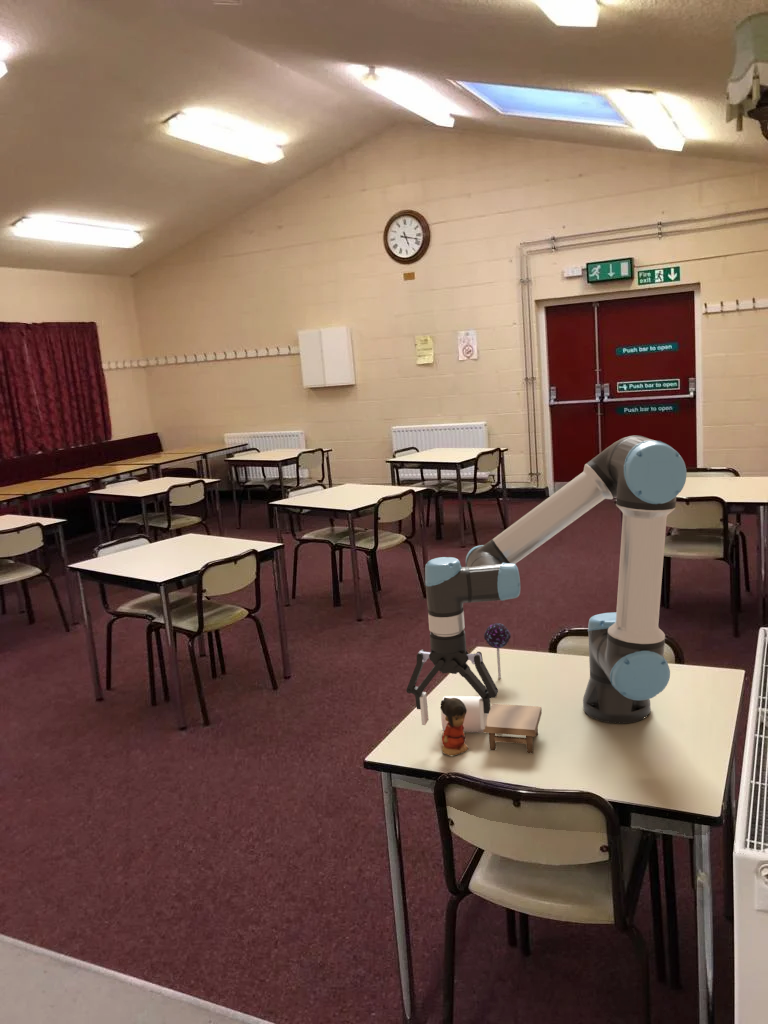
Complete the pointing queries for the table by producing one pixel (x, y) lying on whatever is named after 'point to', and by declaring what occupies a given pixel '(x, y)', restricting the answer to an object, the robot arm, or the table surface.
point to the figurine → (454, 726)
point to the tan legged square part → (513, 724)
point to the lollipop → (497, 639)
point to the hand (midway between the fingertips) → (454, 724)
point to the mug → (468, 714)
